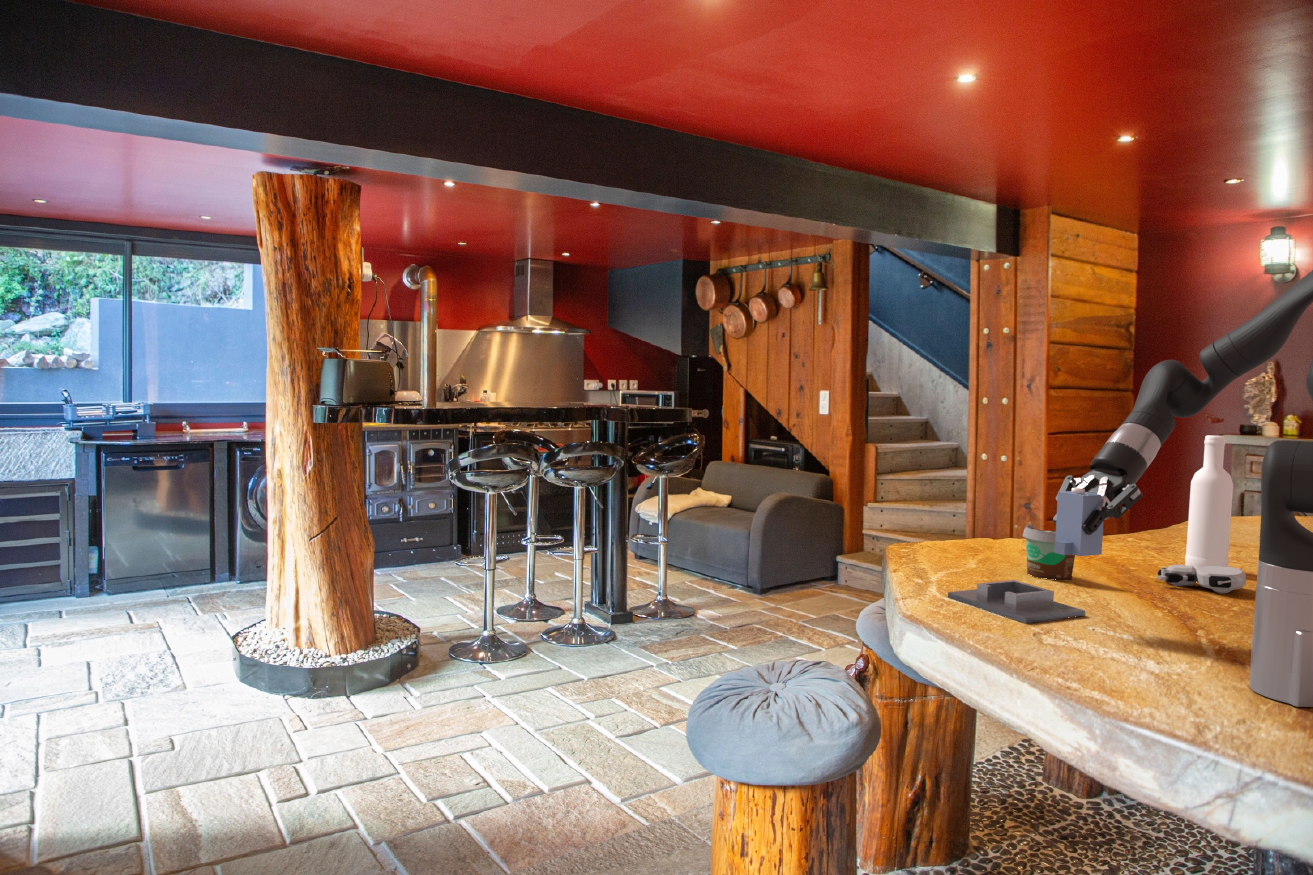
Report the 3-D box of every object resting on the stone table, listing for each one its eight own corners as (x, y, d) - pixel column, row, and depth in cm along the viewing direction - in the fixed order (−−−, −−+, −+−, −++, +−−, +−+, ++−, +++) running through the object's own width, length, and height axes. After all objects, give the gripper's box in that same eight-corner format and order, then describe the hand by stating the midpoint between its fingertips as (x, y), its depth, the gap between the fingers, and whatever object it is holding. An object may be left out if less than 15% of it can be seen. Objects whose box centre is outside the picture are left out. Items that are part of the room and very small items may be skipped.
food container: (1007, 571, 182) (1010, 525, 182) (1028, 569, 185) (1030, 523, 184) (1056, 584, 171) (1059, 535, 170) (1077, 582, 174) (1080, 533, 173)
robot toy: (1155, 592, 171) (1246, 599, 162) (1155, 570, 171) (1246, 575, 162) (1160, 581, 181) (1245, 587, 172) (1159, 560, 181) (1245, 565, 172)
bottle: (1176, 567, 190) (1185, 434, 188) (1202, 566, 193) (1212, 434, 191) (1208, 575, 183) (1218, 436, 181) (1236, 574, 185) (1246, 437, 183)
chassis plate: (1084, 616, 147) (1086, 596, 147) (1025, 623, 142) (1026, 603, 141) (1003, 591, 164) (1004, 573, 163) (947, 597, 158) (948, 578, 158)
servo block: (1101, 554, 141) (1105, 489, 140) (1071, 556, 138) (1075, 491, 138) (1076, 548, 146) (1079, 486, 145) (1046, 550, 143) (1050, 487, 142)
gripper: (1175, 475, 140) (1119, 551, 136) (1099, 466, 153) (1046, 535, 149) (1155, 443, 137) (1097, 520, 134) (1080, 437, 151) (1025, 507, 147)
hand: (1070, 528), depth 141 cm, fingers closed on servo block, 5 cm apart
